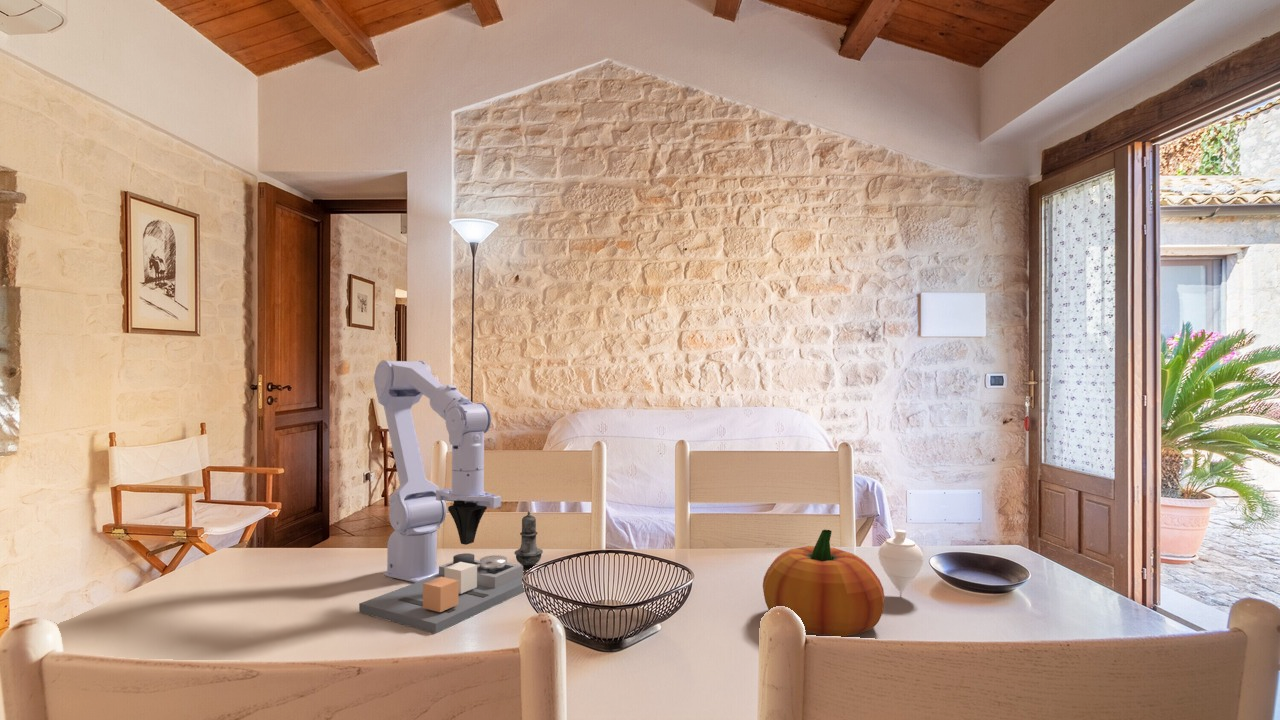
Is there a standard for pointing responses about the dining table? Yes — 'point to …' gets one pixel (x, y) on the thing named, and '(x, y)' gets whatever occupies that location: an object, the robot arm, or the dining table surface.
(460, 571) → the lever middle
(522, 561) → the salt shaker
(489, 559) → the button silver
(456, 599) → the lever near
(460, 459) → the robot arm
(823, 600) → the pumpkin
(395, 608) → the panel
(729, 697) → the dining table surface
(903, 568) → the spinning top
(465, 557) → the button black
